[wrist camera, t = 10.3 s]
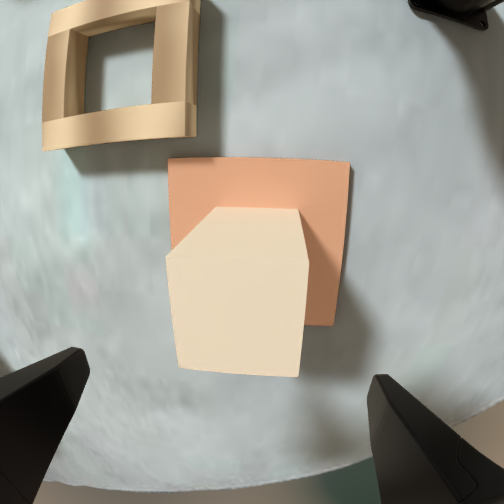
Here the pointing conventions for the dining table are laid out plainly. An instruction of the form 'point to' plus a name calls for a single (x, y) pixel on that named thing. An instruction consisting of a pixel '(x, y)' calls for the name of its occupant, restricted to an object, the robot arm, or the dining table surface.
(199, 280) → the cream block
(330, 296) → the terracotta coaster
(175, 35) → the birch pocket holder
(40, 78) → the dining table surface
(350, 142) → the dining table surface
